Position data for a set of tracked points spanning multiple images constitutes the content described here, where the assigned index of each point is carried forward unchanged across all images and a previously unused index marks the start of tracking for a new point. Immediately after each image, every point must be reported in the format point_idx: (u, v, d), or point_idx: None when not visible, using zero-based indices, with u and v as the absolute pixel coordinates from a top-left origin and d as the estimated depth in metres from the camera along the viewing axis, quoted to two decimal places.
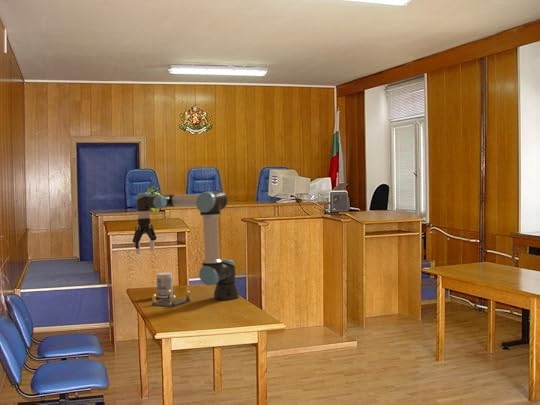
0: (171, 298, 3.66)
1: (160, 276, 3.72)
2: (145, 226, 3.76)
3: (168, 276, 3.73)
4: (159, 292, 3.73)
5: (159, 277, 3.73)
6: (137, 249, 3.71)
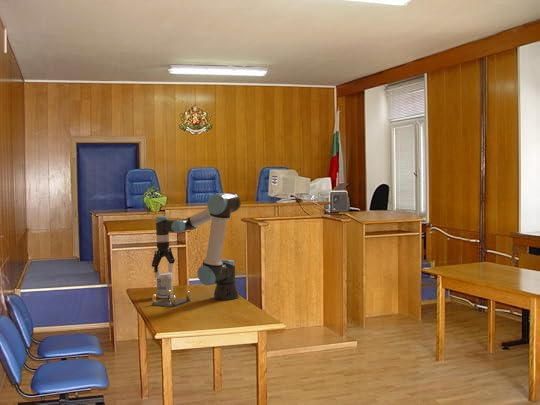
0: (171, 298, 3.66)
1: (160, 276, 3.72)
2: (164, 250, 3.75)
3: (168, 276, 3.73)
4: (159, 292, 3.73)
5: (159, 277, 3.73)
6: (156, 273, 3.70)
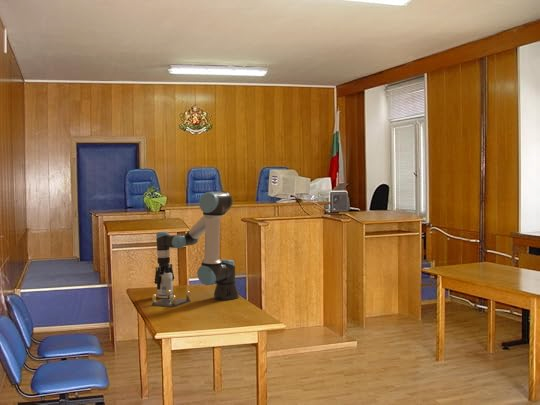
0: (171, 298, 3.66)
1: None
2: (165, 265, 3.75)
3: (168, 276, 3.73)
4: None
5: None
6: (159, 290, 3.72)
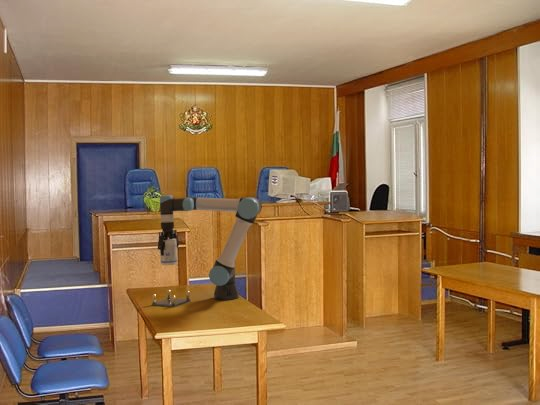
0: (171, 298, 3.66)
1: None
2: (169, 230, 3.56)
3: (172, 242, 3.54)
4: None
5: None
6: (162, 256, 3.53)
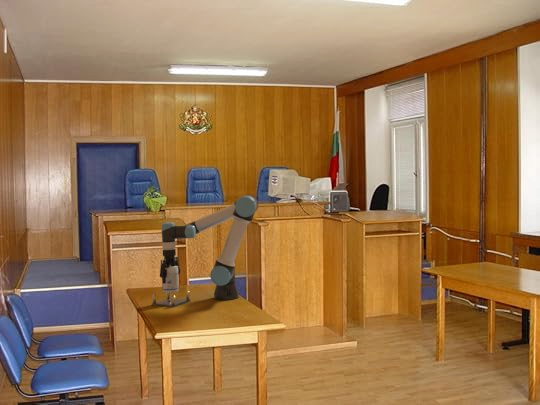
0: (171, 298, 3.66)
1: None
2: (170, 258, 3.56)
3: (174, 269, 3.53)
4: None
5: None
6: (164, 284, 3.52)
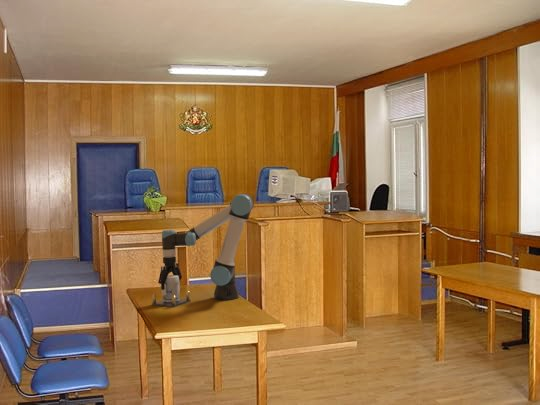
0: None
1: (166, 279, 3.53)
2: (171, 265, 3.56)
3: (174, 279, 3.54)
4: (165, 296, 3.54)
5: None
6: (163, 290, 3.51)
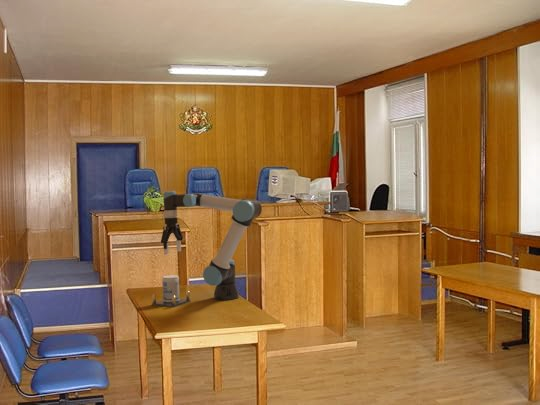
0: None
1: (166, 279, 3.53)
2: (172, 226, 3.63)
3: (174, 279, 3.54)
4: (165, 296, 3.54)
5: (165, 280, 3.53)
6: (165, 250, 3.57)
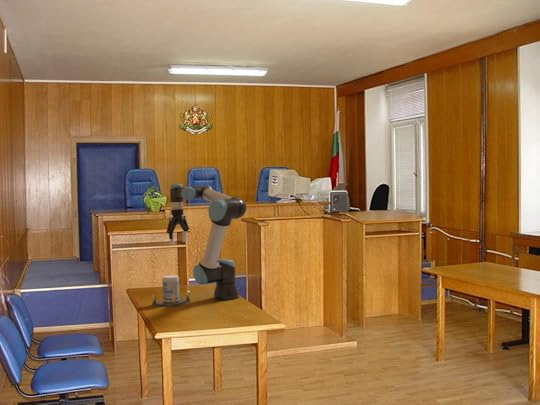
0: None
1: (166, 279, 3.53)
2: (178, 217, 3.78)
3: (174, 279, 3.54)
4: (165, 296, 3.54)
5: (165, 280, 3.53)
6: (171, 240, 3.73)
